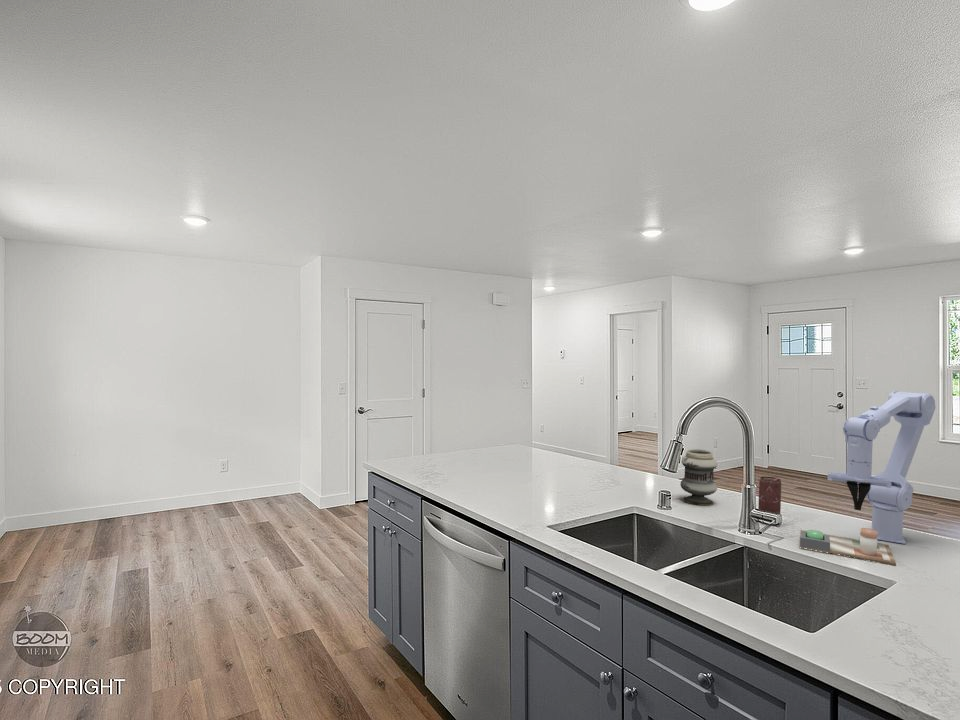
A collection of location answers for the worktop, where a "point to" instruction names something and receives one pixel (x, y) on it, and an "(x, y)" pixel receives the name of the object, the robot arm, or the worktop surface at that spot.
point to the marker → (868, 541)
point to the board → (858, 550)
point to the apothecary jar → (699, 476)
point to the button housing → (815, 542)
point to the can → (770, 494)
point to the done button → (815, 534)
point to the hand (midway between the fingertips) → (857, 509)
